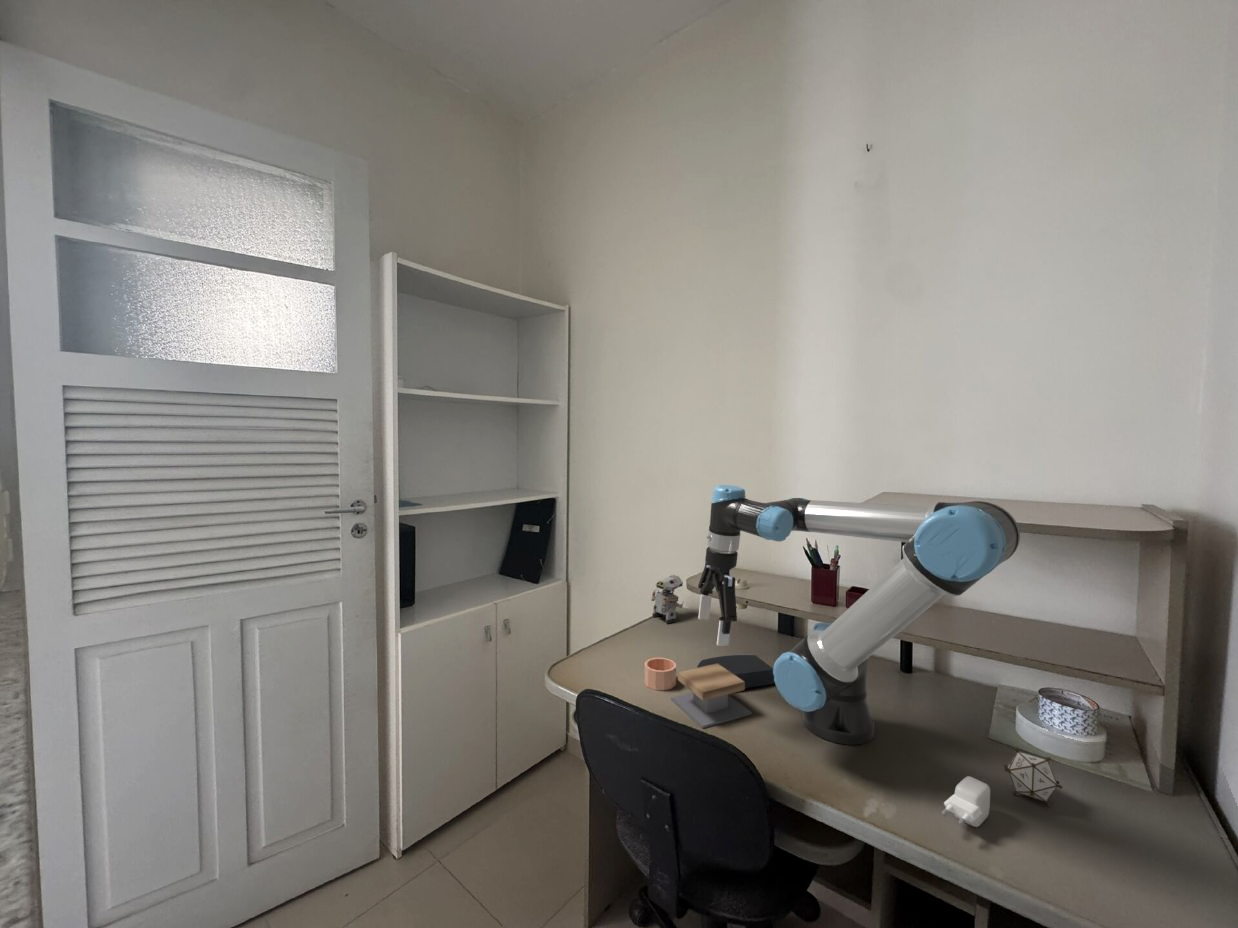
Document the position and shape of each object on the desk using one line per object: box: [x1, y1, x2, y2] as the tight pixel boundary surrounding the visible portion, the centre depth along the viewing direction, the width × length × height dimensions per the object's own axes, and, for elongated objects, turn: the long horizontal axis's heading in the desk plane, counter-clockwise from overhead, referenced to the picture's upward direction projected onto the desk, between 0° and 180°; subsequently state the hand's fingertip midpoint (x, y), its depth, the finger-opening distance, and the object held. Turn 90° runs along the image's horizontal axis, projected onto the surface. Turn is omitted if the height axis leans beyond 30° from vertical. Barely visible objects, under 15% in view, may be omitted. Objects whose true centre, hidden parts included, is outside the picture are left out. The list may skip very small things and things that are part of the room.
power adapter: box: [941, 775, 991, 828], centre depth 89 cm, size 11×5×6 cm, turn 126°
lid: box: [677, 663, 746, 701], centre depth 127 cm, size 11×12×2 cm
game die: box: [1002, 746, 1064, 808], centre depth 96 cm, size 9×8×10 cm
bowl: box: [643, 657, 677, 691], centre depth 139 cm, size 8×8×5 cm
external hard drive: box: [695, 653, 775, 689], centre depth 142 cm, size 13×19×4 cm
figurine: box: [651, 574, 684, 625], centre depth 187 cm, size 9×12×15 cm
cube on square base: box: [670, 691, 752, 729], centre depth 127 cm, size 14×14×6 cm
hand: (712, 631), depth 128 cm, fingers open, 13 cm apart
